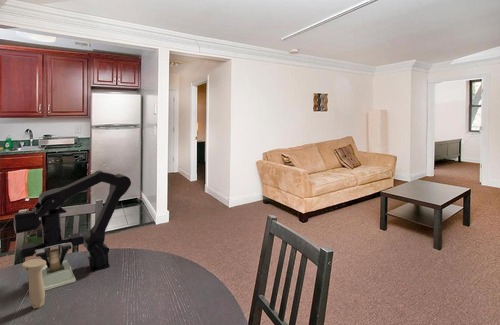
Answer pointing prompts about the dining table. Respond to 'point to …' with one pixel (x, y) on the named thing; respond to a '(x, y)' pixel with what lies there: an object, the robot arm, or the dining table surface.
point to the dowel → (54, 260)
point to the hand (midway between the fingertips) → (54, 266)
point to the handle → (35, 281)
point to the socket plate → (58, 276)
